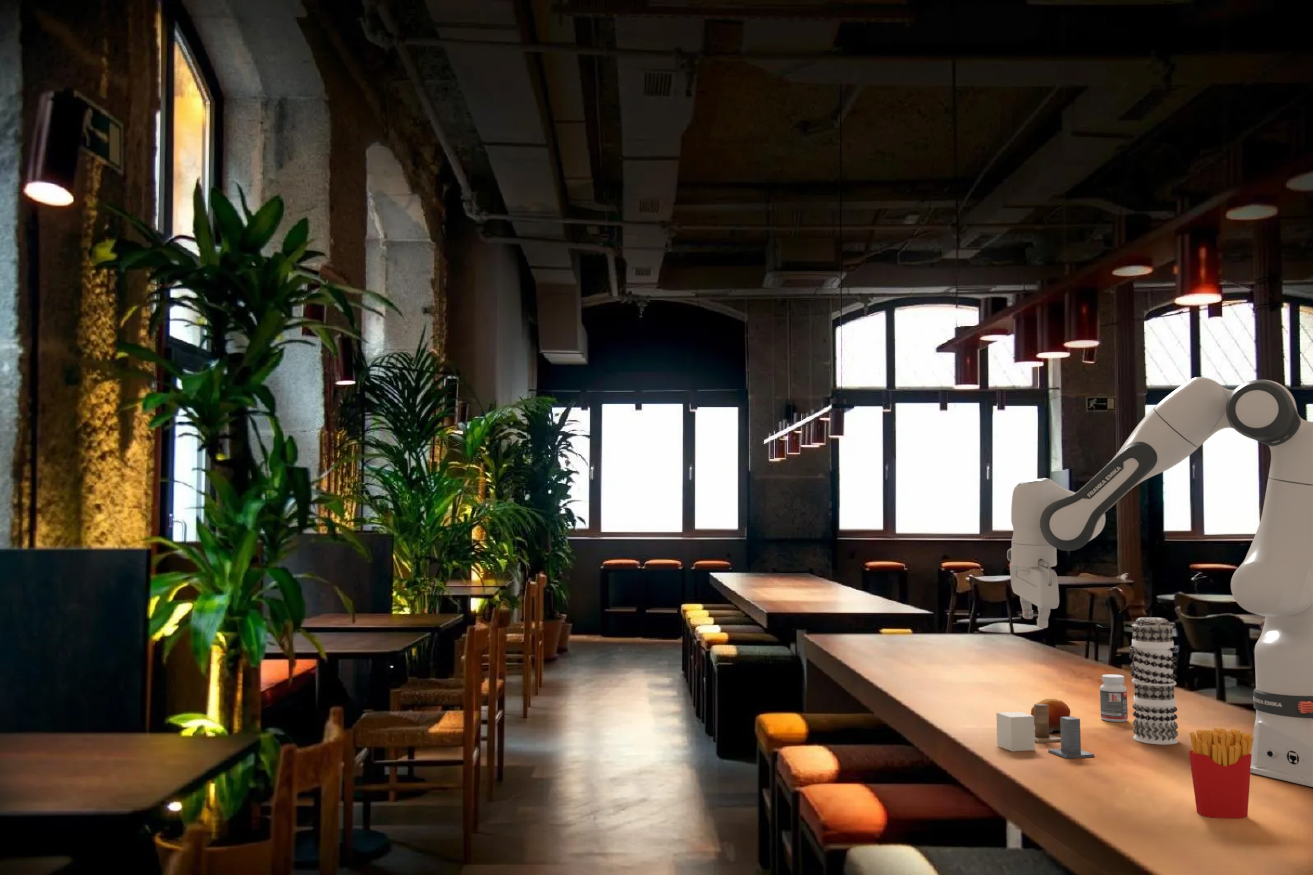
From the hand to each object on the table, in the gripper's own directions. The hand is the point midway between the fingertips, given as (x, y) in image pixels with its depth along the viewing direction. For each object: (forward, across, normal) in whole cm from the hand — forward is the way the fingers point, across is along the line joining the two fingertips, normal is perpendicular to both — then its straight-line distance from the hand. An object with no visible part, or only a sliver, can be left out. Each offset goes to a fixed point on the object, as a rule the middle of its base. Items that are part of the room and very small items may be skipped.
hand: (1035, 622), depth 228 cm
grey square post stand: (+23, -15, -2) cm, 27 cm away
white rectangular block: (+23, -9, +7) cm, 26 cm away
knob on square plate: (+24, -1, -1) cm, 24 cm away
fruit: (+25, +8, -6) cm, 27 cm away
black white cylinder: (+25, -1, -24) cm, 35 cm away
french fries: (+19, -57, -11) cm, 61 cm away
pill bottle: (+27, +20, -24) cm, 41 cm away
